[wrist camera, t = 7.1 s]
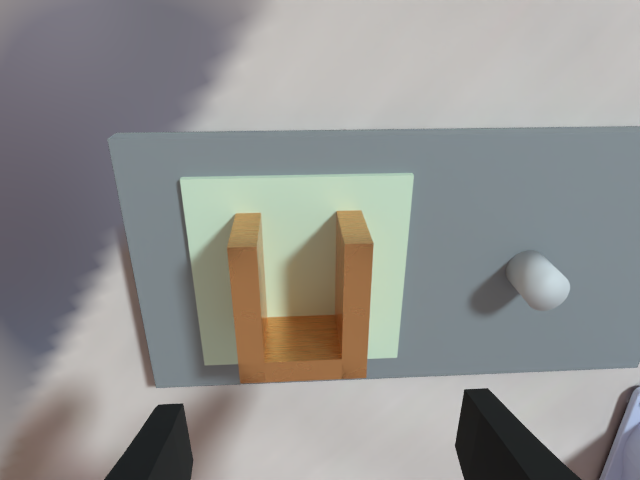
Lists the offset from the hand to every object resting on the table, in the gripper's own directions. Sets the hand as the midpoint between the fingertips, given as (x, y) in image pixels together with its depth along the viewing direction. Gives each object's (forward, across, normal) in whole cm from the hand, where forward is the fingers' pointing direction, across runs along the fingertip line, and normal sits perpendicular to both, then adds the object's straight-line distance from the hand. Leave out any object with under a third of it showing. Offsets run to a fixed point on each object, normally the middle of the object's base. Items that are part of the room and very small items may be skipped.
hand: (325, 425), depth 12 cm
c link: (+9, 0, +1) cm, 9 cm away
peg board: (+10, -4, +1) cm, 11 cm away
